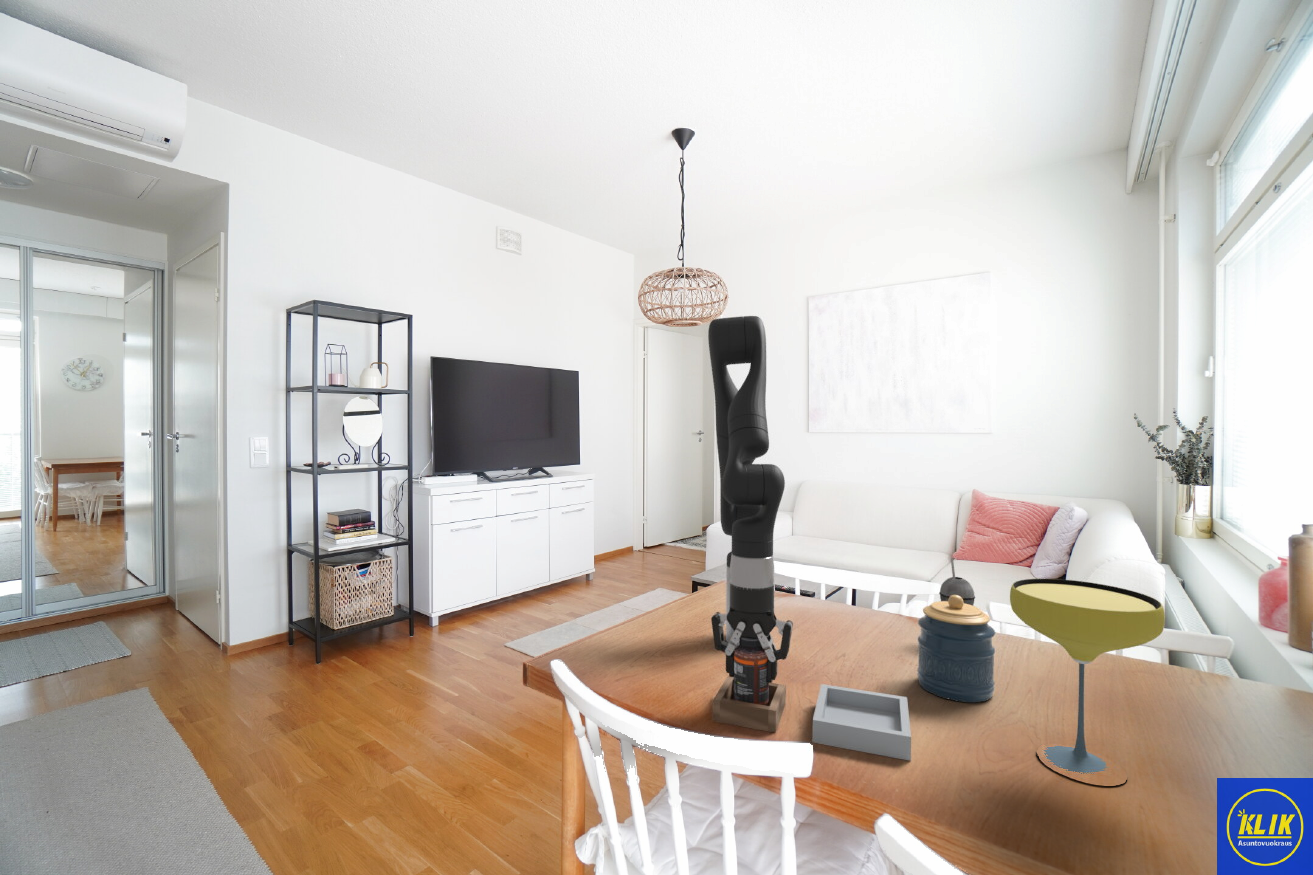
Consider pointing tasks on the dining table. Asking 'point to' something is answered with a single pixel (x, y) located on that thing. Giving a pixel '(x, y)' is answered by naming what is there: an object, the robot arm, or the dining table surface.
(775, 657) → the robot arm
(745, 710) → the socket block
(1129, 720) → the dining table surface
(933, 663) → the canister
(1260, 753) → the dining table surface
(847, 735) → the tray
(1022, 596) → the cocktail glass
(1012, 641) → the dining table surface
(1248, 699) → the dining table surface
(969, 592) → the beverage cup
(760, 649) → the supplement bottle
